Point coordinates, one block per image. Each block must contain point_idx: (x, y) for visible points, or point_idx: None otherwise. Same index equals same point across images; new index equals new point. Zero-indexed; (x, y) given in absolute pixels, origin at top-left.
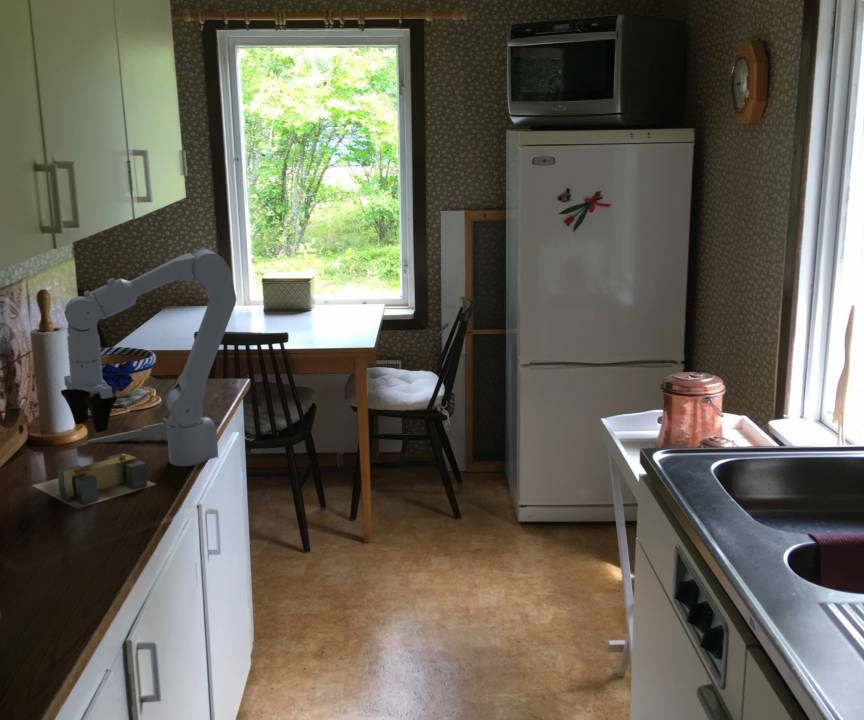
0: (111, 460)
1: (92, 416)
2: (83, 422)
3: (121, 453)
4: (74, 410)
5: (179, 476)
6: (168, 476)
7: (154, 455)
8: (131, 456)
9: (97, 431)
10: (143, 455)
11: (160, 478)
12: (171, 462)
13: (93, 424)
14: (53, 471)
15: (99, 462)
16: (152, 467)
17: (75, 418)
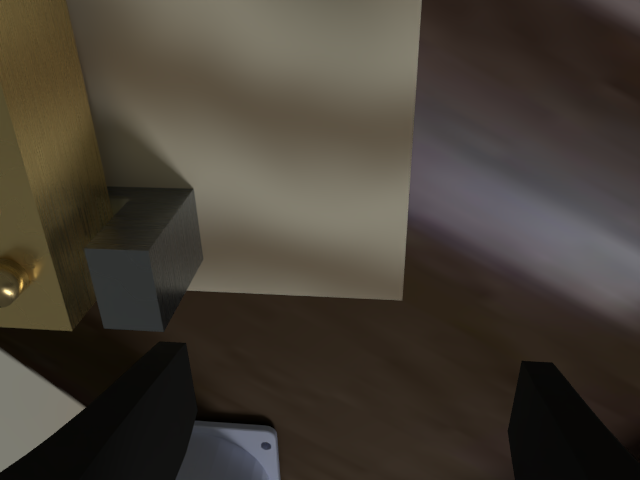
0: (9, 217)
1: (93, 444)
2: (512, 412)
3: (159, 329)
4: (576, 476)
5: (89, 388)
6: (116, 367)
7: (392, 463)
8: (18, 321)
9: (153, 348)
10: (430, 443)
11: (113, 339)
12: (196, 441)
13: (155, 381)
14: (626, 73)
15: (6, 147)
16: (262, 389)
17: (539, 399)
